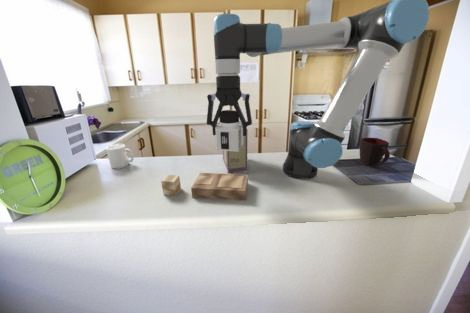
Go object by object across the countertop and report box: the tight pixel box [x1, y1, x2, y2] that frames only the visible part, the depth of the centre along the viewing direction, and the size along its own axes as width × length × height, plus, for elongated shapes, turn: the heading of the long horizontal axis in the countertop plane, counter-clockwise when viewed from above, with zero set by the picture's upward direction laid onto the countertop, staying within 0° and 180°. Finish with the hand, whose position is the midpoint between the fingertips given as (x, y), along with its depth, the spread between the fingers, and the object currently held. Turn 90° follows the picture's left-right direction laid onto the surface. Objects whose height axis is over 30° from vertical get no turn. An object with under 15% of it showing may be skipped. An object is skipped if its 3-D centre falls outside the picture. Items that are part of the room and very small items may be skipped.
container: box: [215, 109, 242, 152], centre depth 69 cm, size 8×8×13 cm
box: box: [222, 120, 249, 174], centre depth 97 cm, size 17×9×20 cm, turn 11°
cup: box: [105, 143, 134, 169], centre depth 100 cm, size 8×12×10 cm
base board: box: [190, 172, 249, 201], centre depth 78 cm, size 20×12×4 cm, turn 83°
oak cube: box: [160, 174, 182, 196], centre depth 78 cm, size 5×5×6 cm
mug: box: [359, 137, 391, 168], centre depth 94 cm, size 10×14×12 cm
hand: (230, 144), depth 71 cm, fingers closed on container, 8 cm apart
